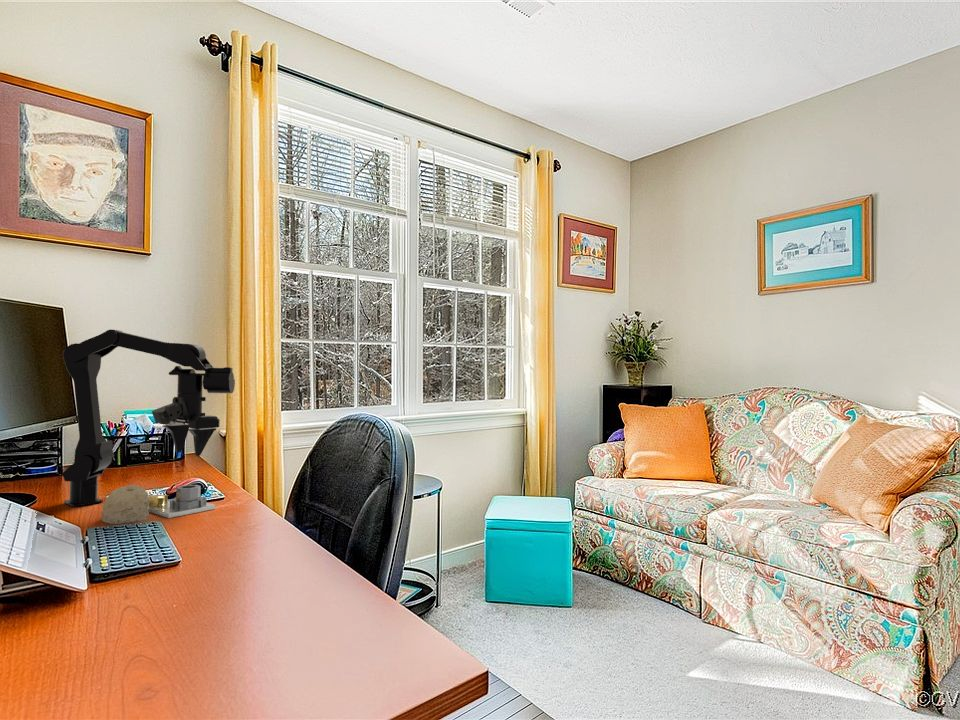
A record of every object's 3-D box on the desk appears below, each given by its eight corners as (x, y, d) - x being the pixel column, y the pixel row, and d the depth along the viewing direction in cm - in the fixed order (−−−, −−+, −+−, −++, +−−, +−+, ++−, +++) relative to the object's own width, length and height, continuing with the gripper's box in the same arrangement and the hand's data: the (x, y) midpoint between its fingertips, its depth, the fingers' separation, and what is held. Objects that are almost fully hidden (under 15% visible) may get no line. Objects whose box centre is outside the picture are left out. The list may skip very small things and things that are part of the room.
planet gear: (164, 506, 137) (164, 487, 137) (195, 500, 143) (195, 482, 143) (180, 511, 132) (180, 491, 132) (211, 505, 138) (212, 486, 139)
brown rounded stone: (149, 536, 130) (166, 494, 136) (125, 520, 122) (144, 477, 128) (111, 533, 131) (130, 492, 137) (84, 518, 123) (106, 475, 129)
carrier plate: (138, 509, 137) (138, 490, 137) (186, 500, 146) (187, 483, 146) (165, 518, 129) (166, 498, 129) (214, 508, 139) (215, 490, 139)
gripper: (139, 392, 145) (137, 453, 145) (176, 395, 135) (175, 461, 134) (183, 391, 155) (181, 449, 154) (221, 394, 144) (219, 456, 144)
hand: (188, 454), depth 146 cm, fingers open, 9 cm apart
